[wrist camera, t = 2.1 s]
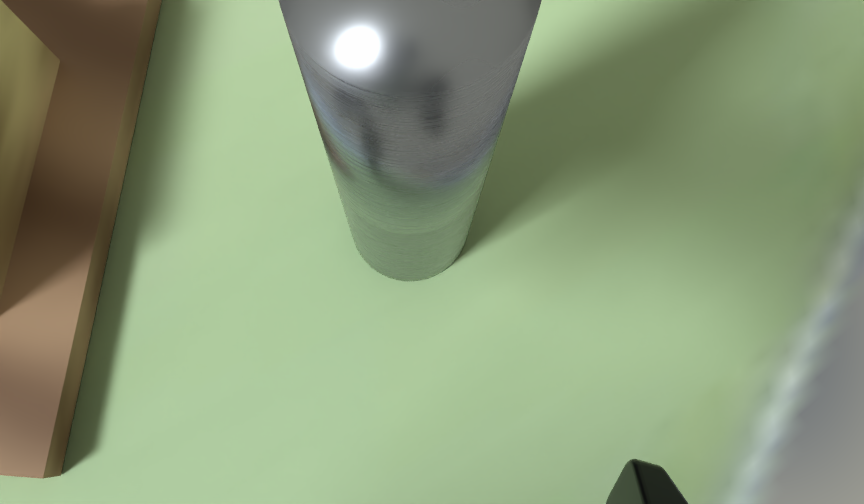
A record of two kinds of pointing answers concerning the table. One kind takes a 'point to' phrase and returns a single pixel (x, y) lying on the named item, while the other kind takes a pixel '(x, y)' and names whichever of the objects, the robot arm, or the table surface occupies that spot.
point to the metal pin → (410, 114)
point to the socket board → (59, 202)
